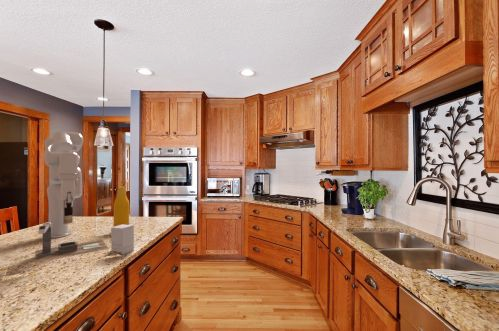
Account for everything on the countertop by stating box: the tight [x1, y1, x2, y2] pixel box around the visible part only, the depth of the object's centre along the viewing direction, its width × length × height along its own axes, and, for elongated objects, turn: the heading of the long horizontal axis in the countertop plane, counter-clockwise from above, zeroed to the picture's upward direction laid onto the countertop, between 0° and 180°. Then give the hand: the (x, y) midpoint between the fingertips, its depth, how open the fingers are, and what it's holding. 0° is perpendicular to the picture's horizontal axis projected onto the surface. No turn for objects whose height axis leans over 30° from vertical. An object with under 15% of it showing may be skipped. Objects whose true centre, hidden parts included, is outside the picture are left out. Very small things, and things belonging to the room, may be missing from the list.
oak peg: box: [63, 200, 74, 225], centre depth 120 cm, size 4×4×11 cm
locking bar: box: [38, 221, 51, 235], centre depth 109 cm, size 16×3×3 cm, turn 33°
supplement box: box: [110, 224, 135, 255], centre depth 122 cm, size 7×7×13 cm
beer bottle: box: [113, 186, 130, 227], centre depth 161 cm, size 9×9×29 cm
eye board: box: [34, 227, 110, 263], centre depth 121 cm, size 20×28×14 cm
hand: (68, 214), depth 120 cm, fingers closed on oak peg, 3 cm apart
